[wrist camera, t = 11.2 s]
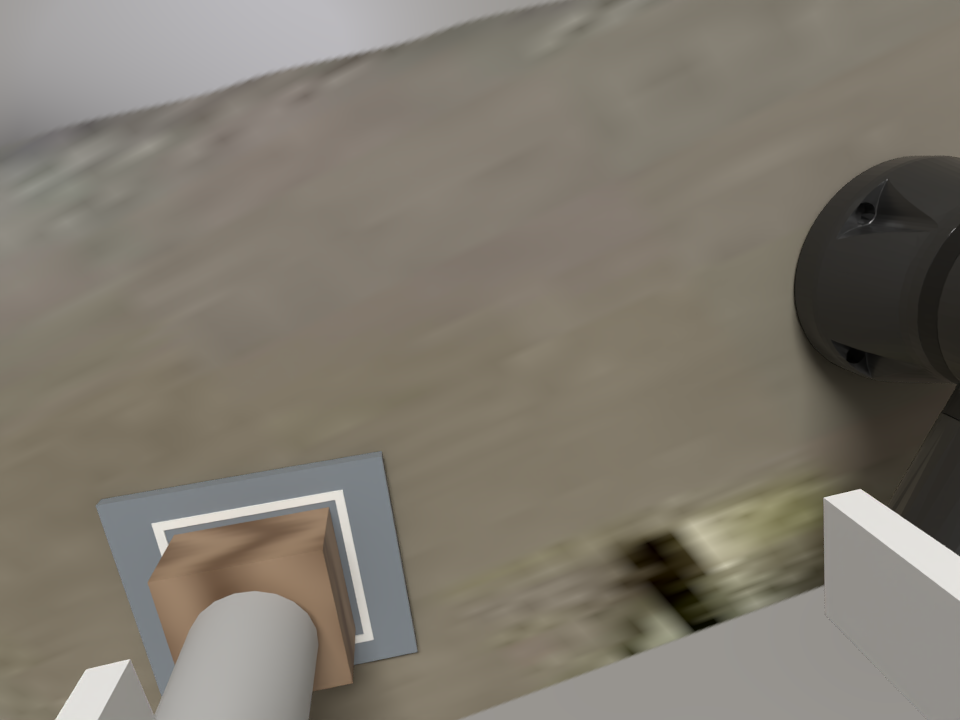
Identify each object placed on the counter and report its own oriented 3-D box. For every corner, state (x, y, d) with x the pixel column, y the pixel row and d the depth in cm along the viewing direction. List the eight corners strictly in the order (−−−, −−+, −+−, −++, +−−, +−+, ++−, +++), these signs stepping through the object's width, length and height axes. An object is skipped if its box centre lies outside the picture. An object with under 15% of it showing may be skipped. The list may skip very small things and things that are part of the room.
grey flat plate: (381, 451, 43) (381, 456, 42) (416, 644, 48) (417, 652, 47) (100, 499, 41) (95, 506, 40) (167, 695, 46) (163, 705, 45)
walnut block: (328, 507, 43) (322, 549, 38) (355, 629, 46) (352, 683, 41) (174, 535, 41) (147, 582, 37) (211, 658, 45) (191, 716, 40)
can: (240, 704, 40) (185, 917, 29) (164, 623, 38) (70, 820, 26) (343, 645, 40) (328, 835, 29) (273, 559, 38) (226, 730, 26)
